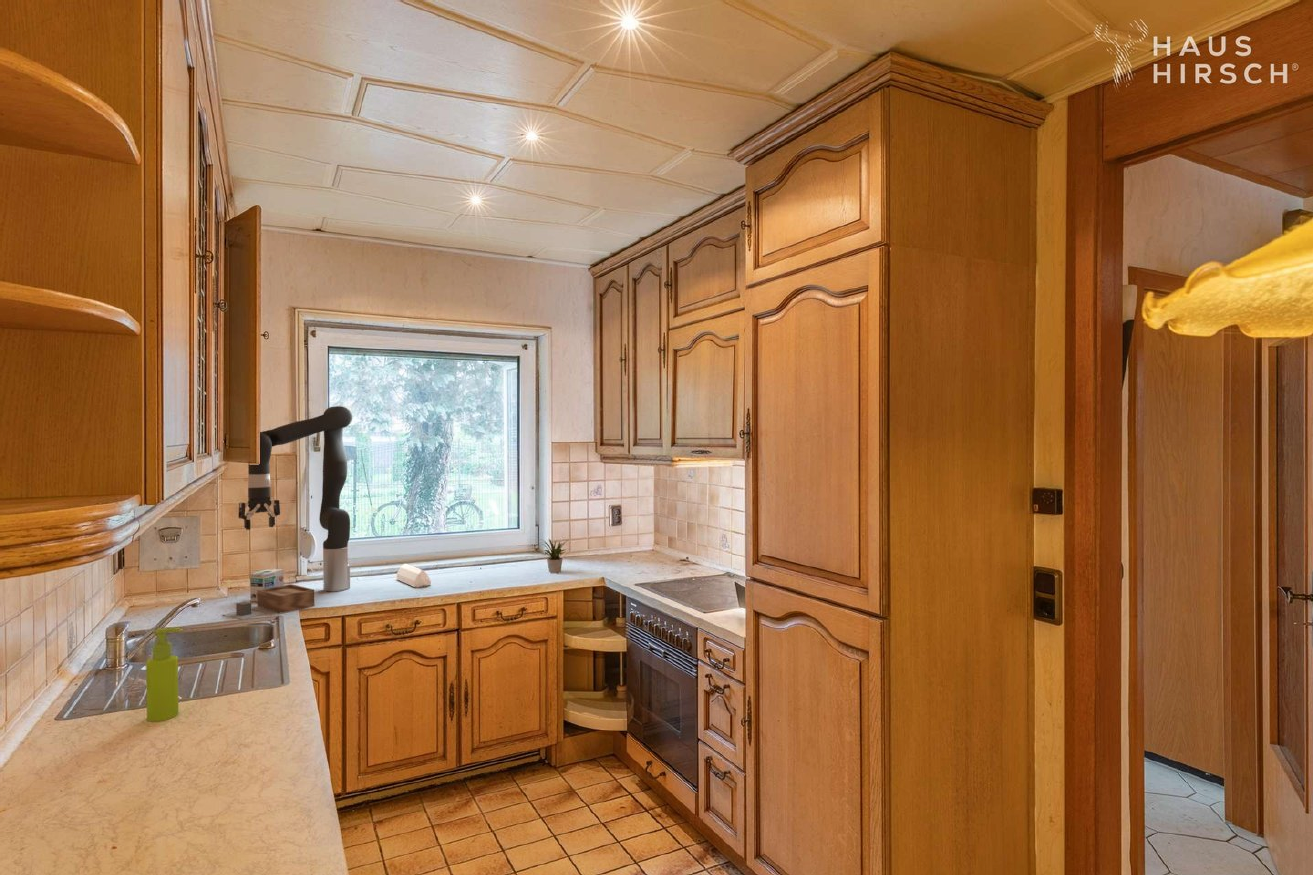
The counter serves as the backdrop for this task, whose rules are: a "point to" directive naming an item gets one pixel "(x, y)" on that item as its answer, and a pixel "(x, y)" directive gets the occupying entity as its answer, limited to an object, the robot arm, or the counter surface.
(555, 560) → the house plant
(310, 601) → the walnut box
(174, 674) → the soap dispenser
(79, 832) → the counter surface
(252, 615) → the cover plate
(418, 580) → the pale wooden prism
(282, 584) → the light bulb box
